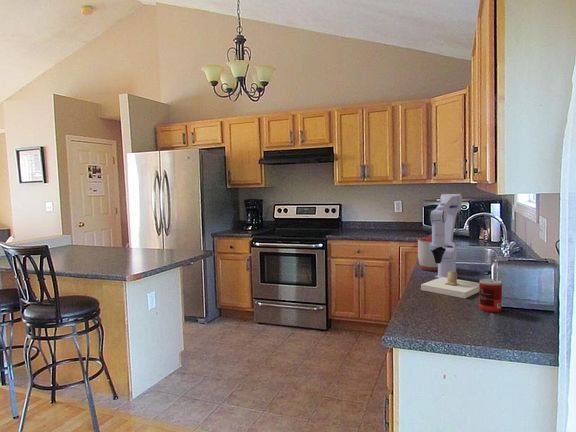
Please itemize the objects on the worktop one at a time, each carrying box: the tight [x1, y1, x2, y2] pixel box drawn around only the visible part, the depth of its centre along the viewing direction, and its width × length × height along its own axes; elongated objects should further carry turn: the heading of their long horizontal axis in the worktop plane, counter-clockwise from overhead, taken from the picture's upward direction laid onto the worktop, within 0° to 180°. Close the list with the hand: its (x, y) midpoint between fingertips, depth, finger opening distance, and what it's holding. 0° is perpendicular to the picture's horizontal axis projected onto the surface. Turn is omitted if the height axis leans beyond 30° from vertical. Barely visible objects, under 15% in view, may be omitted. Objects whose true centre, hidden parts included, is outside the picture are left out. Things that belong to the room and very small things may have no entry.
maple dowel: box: [447, 271, 458, 286], centre depth 182 cm, size 4×4×8 cm
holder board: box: [420, 277, 480, 299], centre depth 182 cm, size 20×20×2 cm
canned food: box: [478, 278, 503, 313], centre depth 153 cm, size 8×8×11 cm
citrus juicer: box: [417, 233, 438, 272], centre depth 226 cm, size 16×17×20 cm
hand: (438, 263), depth 193 cm, fingers closed
